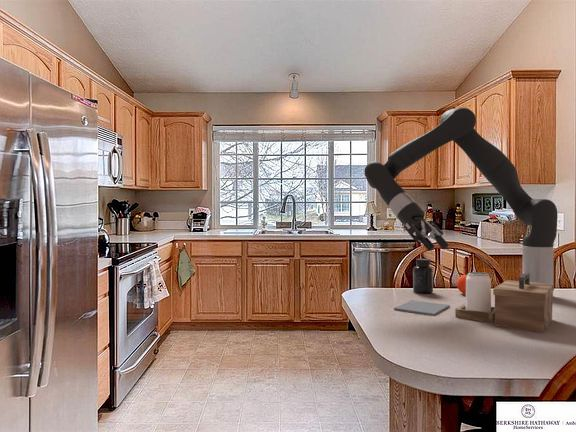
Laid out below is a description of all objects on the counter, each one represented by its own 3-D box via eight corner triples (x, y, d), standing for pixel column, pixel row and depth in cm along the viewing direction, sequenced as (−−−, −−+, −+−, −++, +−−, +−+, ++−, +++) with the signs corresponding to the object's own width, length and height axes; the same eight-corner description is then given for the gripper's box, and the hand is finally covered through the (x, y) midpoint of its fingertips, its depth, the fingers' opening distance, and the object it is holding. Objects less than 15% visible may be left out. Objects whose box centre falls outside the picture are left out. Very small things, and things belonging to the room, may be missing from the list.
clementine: (484, 296, 151) (484, 275, 151) (466, 297, 150) (466, 276, 150) (469, 292, 159) (469, 272, 159) (452, 292, 158) (452, 273, 157)
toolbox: (468, 308, 133) (468, 266, 132) (553, 319, 119) (553, 273, 119) (451, 319, 119) (451, 273, 119) (544, 333, 106) (545, 281, 106)
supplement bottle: (424, 290, 163) (424, 257, 162) (437, 293, 156) (437, 259, 156) (409, 291, 160) (409, 258, 160) (421, 295, 154) (421, 260, 153)
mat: (411, 302, 142) (411, 300, 142) (449, 307, 135) (449, 305, 135) (394, 310, 131) (393, 308, 131) (434, 315, 124) (434, 313, 124)
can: (489, 314, 125) (489, 272, 125) (492, 320, 119) (492, 275, 119) (465, 312, 127) (465, 271, 127) (466, 318, 121) (466, 274, 121)
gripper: (401, 201, 133) (435, 241, 125) (425, 201, 143) (459, 239, 134) (386, 218, 137) (418, 258, 129) (411, 217, 147) (442, 255, 138)
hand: (439, 248), depth 131 cm, fingers open, 8 cm apart
